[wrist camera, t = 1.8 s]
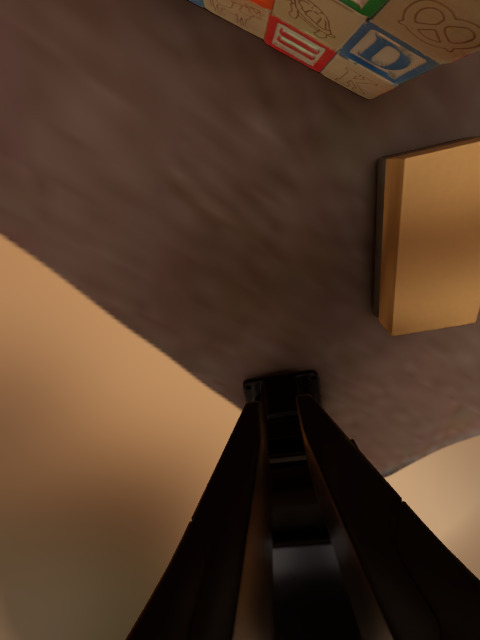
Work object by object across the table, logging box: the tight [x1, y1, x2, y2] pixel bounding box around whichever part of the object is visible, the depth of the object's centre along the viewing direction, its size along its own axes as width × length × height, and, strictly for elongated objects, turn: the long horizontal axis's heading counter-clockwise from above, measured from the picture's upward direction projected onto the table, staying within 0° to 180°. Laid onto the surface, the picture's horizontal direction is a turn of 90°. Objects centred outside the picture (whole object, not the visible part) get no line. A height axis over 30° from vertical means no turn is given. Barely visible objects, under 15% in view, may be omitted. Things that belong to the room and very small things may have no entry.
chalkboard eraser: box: [373, 136, 480, 336], centre depth 16 cm, size 10×5×4 cm, turn 12°
